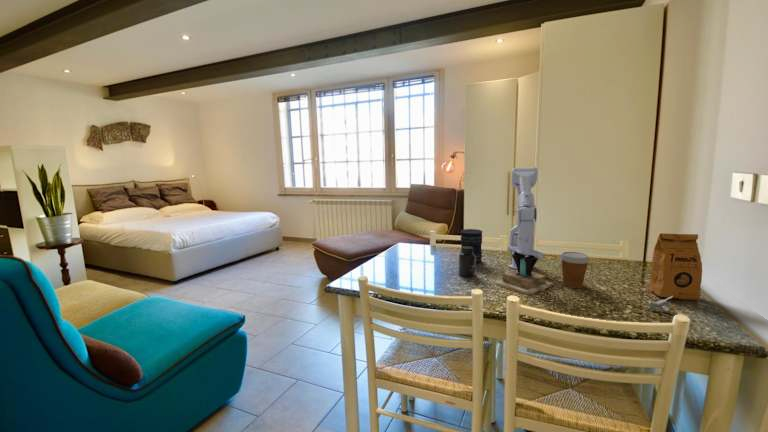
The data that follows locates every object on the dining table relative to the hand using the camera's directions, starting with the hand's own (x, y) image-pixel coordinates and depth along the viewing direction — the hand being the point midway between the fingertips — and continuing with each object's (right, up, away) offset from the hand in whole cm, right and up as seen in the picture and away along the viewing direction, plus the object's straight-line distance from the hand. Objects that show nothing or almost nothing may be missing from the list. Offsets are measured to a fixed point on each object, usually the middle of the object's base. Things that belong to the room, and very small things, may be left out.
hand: (524, 273), depth 130 cm
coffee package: (+45, -6, -13) cm, 48 cm away
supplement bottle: (-19, -3, +14) cm, 23 cm away
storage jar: (-12, 0, +32) cm, 34 cm away
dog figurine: (+32, -8, -24) cm, 41 cm away
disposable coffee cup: (+18, -5, -1) cm, 18 cm away
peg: (0, -2, 0) cm, 3 cm away
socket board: (0, -5, +1) cm, 5 cm away
